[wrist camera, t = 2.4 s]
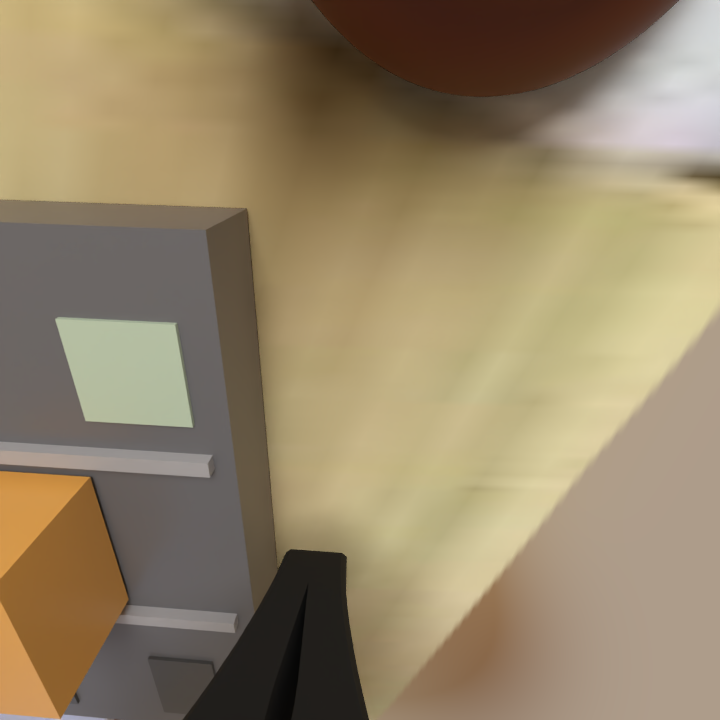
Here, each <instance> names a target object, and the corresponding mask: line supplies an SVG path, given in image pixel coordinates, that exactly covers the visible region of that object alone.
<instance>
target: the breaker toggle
mask: <svg viewBox="0 0 720 720" xmlns="http://www.w3.org/2000/svg"><path fill="white" fill-rule="evenodd" d="M128 600H129V599H128V596H127V592H126V589H125V586H124V583H123V580H122V577H121V573H120V570H119V567H118V564H117V561H116V557H115V554H114V551H113V548H112V545H111V542H110V538H109V535H108V532H107V529H106V526H105V522H104V519H103V516H102V513H101V510H100V507H99V503H98V500H97V497H96V494H95V491H94V487H93V484H92V481H91V478H90V477H83V476H68V475H53V474H38V473H23V472H8V471H0V714H11V715H21V716H32V717H42V718H53V719H61V718H62V716H63V714H64V712H65V711H66V709H67V707H68V705H69V704H70V702H71V700H72V698H73V696H74V695H75V693H76V691H77V689H78V688H79V686H80V684H81V682H82V681H83V679H84V677H85V675H86V674H87V672H88V670H89V668H90V667H91V665H92V663H93V661H94V660H95V658H96V656H97V654H98V652H99V651H100V649H101V647H102V645H103V644H104V642H105V640H106V638H107V637H108V635H109V633H110V631H111V630H112V628H113V626H114V624H115V623H116V621H117V619H118V617H119V616H120V614H121V612H122V610H123V608H124V607H125V605H126V603H127V601H128Z"/></svg>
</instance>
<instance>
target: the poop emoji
mask: <svg viewBox="0 0 720 720" xmlns="http://www.w3.org/2000/svg"><path fill="white" fill-rule="evenodd" d="M312 1H313V3H314V4H315V5H316V7H317V8H318V9H319V10H320V11H321V13H322V14H323V15H324V16H325V17H326V18H327V20H328V21H329V22H330V23H331V24H332V25H333V26H334V27H335V28H336V29H337V30H338V31H339V32H340V33H341V34H342V35H343V36H344V37H345V38H346V39H347V40H348V41H349V42H350V43H351V44H352V45H353V46H354V47H356V48H357V49H358V50H359V51H360V52H362V53H363V54H364V55H365V56H367V57H368V58H370V59H371V60H372V61H374V62H375V63H377V64H378V65H380V66H381V67H383V68H384V69H386V70H387V71H389V72H391V73H393V74H395V75H396V76H398V77H400V78H403V79H405V80H407V81H409V82H411V83H414V84H416V85H419V86H422V87H425V88H428V89H431V90H435V91H439V92H443V93H448V94H453V95H461V96H473V97H490V96H503V95H511V94H517V93H523V92H527V91H531V90H535V89H539V88H542V87H546V86H549V85H552V84H555V83H557V82H560V81H562V80H565V79H567V78H570V77H572V76H574V75H576V74H578V73H580V72H582V71H584V70H587V69H588V68H590V67H592V66H594V65H596V64H598V63H599V62H601V61H603V60H604V59H606V58H608V57H609V56H611V55H612V54H614V53H615V52H617V51H618V50H620V49H621V48H623V47H624V46H626V45H627V44H628V43H630V42H631V41H633V40H634V39H635V38H637V37H638V36H639V35H640V34H642V33H643V32H644V31H645V30H647V29H648V28H649V27H650V26H651V25H653V24H654V23H655V22H656V21H657V20H658V19H659V18H660V17H662V16H663V15H664V14H665V13H666V12H667V11H668V10H669V9H670V8H671V7H672V6H674V5H675V4H676V3H677V2H678V1H679V0H312Z"/></svg>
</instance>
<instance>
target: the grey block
mask: <svg viewBox="0 0 720 720" xmlns="http://www.w3.org/2000/svg"><path fill="white" fill-rule="evenodd" d="M0 471H8V472H23V473H38V474H53V475H68V476H83V477H90V478H91V481H92V484H93V487H94V491H95V494H96V497H97V500H98V503H99V507H100V510H101V513H102V516H103V519H104V522H105V526H106V529H107V532H108V535H109V538H110V542H111V545H112V548H113V551H114V554H115V557H116V561H117V564H118V567H119V570H120V573H121V577H122V580H123V583H124V586H125V589H126V592H127V596H128V599H129V600H128V601H127V603H126V605H125V607H124V608H123V610H122V612H121V614H120V616H119V617H118V619H117V621H116V623H115V624H114V626H113V628H112V630H111V631H110V633H109V635H108V637H107V638H106V640H105V642H104V644H103V645H102V647H101V649H100V651H99V652H98V654H97V656H96V658H95V660H94V661H93V663H92V665H91V667H90V668H89V670H88V672H87V674H86V675H85V677H84V679H83V681H82V682H81V684H80V686H79V688H78V689H77V691H76V693H75V695H74V696H73V698H72V700H71V702H70V704H69V705H68V707H67V709H66V711H65V712H64V715H74V716H85V717H96V718H106V719H117V720H183V718H184V717H185V716H186V714H187V713H188V712H189V711H190V709H191V708H192V706H193V705H194V704H195V702H196V701H197V700H198V698H199V697H200V696H201V694H202V693H203V691H204V690H205V689H206V687H207V686H208V684H209V683H210V682H211V680H212V679H213V677H214V676H215V674H216V673H217V671H218V670H219V668H220V667H221V665H222V664H223V662H224V661H225V659H226V658H227V656H228V655H229V653H230V652H231V650H232V649H233V647H234V646H235V644H236V643H237V641H238V640H239V638H240V637H241V635H242V633H243V632H244V630H245V628H246V627H247V625H248V623H249V622H250V620H251V618H252V617H253V615H254V613H255V612H256V610H257V608H258V607H259V605H260V603H261V601H262V600H263V598H264V596H265V594H266V592H267V591H268V589H269V587H270V585H271V583H272V581H273V579H274V577H275V576H276V574H277V572H278V569H277V557H276V546H275V534H274V522H273V510H272V499H271V487H270V475H269V464H268V452H267V440H266V428H265V417H264V405H263V393H262V381H261V370H260V358H259V346H258V334H257V323H256V311H255V299H254V287H253V276H252V264H251V252H250V240H249V229H248V217H247V209H246V208H218V207H189V206H161V205H133V204H105V203H76V202H48V201H20V200H0Z"/></svg>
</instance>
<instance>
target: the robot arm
mask: <svg viewBox="0 0 720 720" xmlns="http://www.w3.org/2000/svg"><path fill="white" fill-rule="evenodd" d="M346 563H347V557H346V556H345V555H344V554H342V553H334V552H320V551H306V550H293V549H291V550H289V551H288V552H286V554H285V556H284V559H283V561H282V563H281V565H280V567H279V569H278V572H277V574H276V576H275V577H274V579H273V581H272V583H271V585H270V587H269V589H268V591H267V592H266V594H265V596H264V598H263V600H262V601H261V603H260V605H259V607H258V608H257V610H256V612H255V613H254V615H253V617H252V618H251V620H250V622H249V623H248V625H247V627H246V628H245V630H244V632H243V633H242V635H241V637H240V638H239V640H238V641H237V643H236V644H235V646H234V647H233V649H232V650H231V652H230V653H229V655H228V656H227V658H226V659H225V661H224V662H223V664H222V665H221V667H220V668H219V670H218V671H217V673H216V674H215V676H214V677H213V679H212V680H211V682H210V683H209V684H208V686H207V687H206V689H205V690H204V691H203V693H202V694H201V696H200V697H199V698H198V700H197V701H196V702H195V704H194V705H193V706H192V708H191V709H190V711H189V712H188V713H187V714H186V716H185V717H184V718H183V720H369V718H368V714H367V710H366V706H365V702H364V697H363V693H362V688H361V684H360V679H359V675H358V670H357V665H356V660H355V655H354V649H353V643H352V637H351V631H350V625H349V617H348V609H347V598H346ZM0 720H114V719H106V718H96V717H85V716H74V715H64V714H63V716H62V718H61V719H53V718H42V717H32V716H21V715H11V714H0Z"/></svg>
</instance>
